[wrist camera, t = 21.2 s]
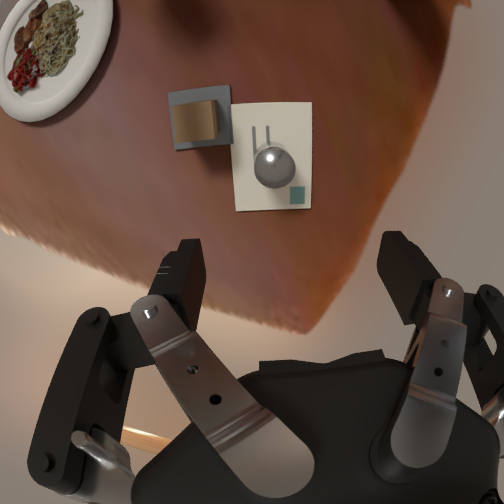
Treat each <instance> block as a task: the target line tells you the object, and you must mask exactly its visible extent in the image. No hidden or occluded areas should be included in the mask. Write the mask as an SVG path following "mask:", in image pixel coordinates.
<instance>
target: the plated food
mask: <svg viewBox="0 0 504 504" xmlns="http://www.w3.org/2000/svg"><path fill="white" fill-rule="evenodd" d="M112 21H113V0H20V1H19V2H18V3H17V4H16V5H15V7H14V8H13V10H12V11H11V12H10V14H9V15H8V17H7V19H6V21H5V23H4V25H3V26H2V28H1V31H0V105H1V107H2V108H3V110H4V111H5V112H6V113H7V114H9V115H10V116H11V117H13V118H15V119H17V120H19V121H25V122H34V121H41V120H43V119H46V118H48V117H50V116H53V115H54V114H56V113H57V112H59V111H60V110H62V109H63V108H65V107H66V106H67V105H68V104H69V103H70V102H71V101H72V100H73V99H74V98H75V97H76V96H77V95H78V94H79V93H80V91H81V90H82V89H83V88H84V86H85V85H86V84H87V83H88V81H89V79H90V78H91V76H92V74H93V73H94V71H95V70H96V68H97V66H98V64H99V62H100V59H101V57H102V55H103V53H104V51H105V48H106V45H107V42H108V39H109V36H110V32H111V26H112Z"/></svg>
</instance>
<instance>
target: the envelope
mask: <svg viewBox="0 0 504 504" xmlns="http://www.w3.org/2000/svg"><path fill="white" fill-rule="evenodd" d="M228 106H229V105H228ZM229 108H230V107H229ZM228 111H229V110H228ZM231 112H232V116H231V117H232V123H231V124H232V125H233V130H230V128H229V130H230V132H231V131H233V133H232V135H233V139H234V140H233V139H230V141H232V140H233V141H232V142H234V144H232V143H231V156H232V169H233V181H234V192H235V204H236V211H250V210H273V209H301V208H311V179H312V103H311V102H268V103H246V104H231ZM229 113H230V112H229ZM228 115H229V114H228ZM230 115H231V114H230ZM228 118H229V117H228ZM229 124H230V123H229ZM231 124H230V125H231ZM230 136H231V135H230ZM271 141H273V142H278V143H280V144H282V145H283V146H284V147H285V148H286V149H287V151H288V152H289V154H290V155H291V157H292V158H293V160H294V162H295V166H296V172H295V176H294V178H293V179H292V181H291V182H290V183H289V184H288V185H286V186H284V187H282V188H277V189H272V188H268V187H265V186H263V185H262V184H261V183H260V182H259V181H258V180H257V178H256V176H255V173H254V164H255V161H254V157H255V152H256V150H257V149H258V147H259V146H260V145H262V144H264V143H266V142H271Z"/></svg>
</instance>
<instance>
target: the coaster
mask: <svg viewBox="0 0 504 504" xmlns="http://www.w3.org/2000/svg"><path fill="white" fill-rule="evenodd" d="M214 99H217V107H218V119H219V130H220V132H219V134H218V135H217V136H216V138H215V139H210V140H200V141H191V142H183V143H176V139H175V131H174V123H173V115H172V106H175V105H179V104H183V103H190V102H197V101H205V100H214ZM168 100H169V109H170V118H171V126H172V134H173V142H174V149H175V150H177V149H185V148H194V147H204V146H214V145H226V144H231V143H232V144H234V142H232V141H233V140H234V139H233V135H232V133H233V131H231V132H230V130H233V125H232V124H231V123H232V117H231V116H232V112H231V95H230V85H223V86H213V87H204V88H196V89H189V90H182V91H176V92H170V93H168ZM228 105H229V106H228ZM229 107H230V108H229ZM228 110H229V111H228ZM229 112H230V113H229ZM228 114H229V115H228ZM230 114H231V115H230ZM228 117H229V118H228ZM229 123H230V124H231V125H230V124H229ZM229 128H230V130H229ZM230 135H231V136H230ZM230 139H233V140H232V141H230Z"/></svg>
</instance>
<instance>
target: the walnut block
mask: <svg viewBox="0 0 504 504" xmlns="http://www.w3.org/2000/svg"><path fill="white" fill-rule="evenodd" d="M172 115H173V123H174V131H175V139H176V143H183V142H191V141H200V140H210V139H215V138H216V136H217V135H218V134H219V132H220V130H219V119H218V107H217V99H214V100H205V101H197V102H190V103H183V104H179V105H175V106H172Z"/></svg>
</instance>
